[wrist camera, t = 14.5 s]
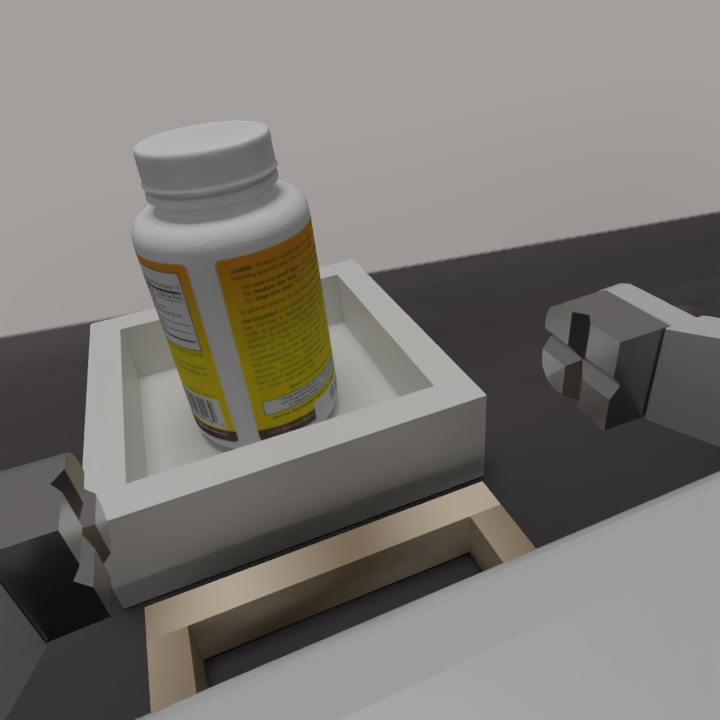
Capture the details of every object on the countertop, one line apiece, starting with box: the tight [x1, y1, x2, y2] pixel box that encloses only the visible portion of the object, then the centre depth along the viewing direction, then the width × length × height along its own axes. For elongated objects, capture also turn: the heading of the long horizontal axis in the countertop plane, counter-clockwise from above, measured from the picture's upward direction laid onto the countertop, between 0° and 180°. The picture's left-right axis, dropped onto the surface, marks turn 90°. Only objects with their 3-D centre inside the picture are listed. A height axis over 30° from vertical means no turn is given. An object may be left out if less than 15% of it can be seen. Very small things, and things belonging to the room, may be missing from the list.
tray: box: [83, 259, 487, 609], centre depth 22 cm, size 12×12×4 cm
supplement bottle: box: [131, 121, 337, 449], centre depth 19 cm, size 6×6×10 cm
